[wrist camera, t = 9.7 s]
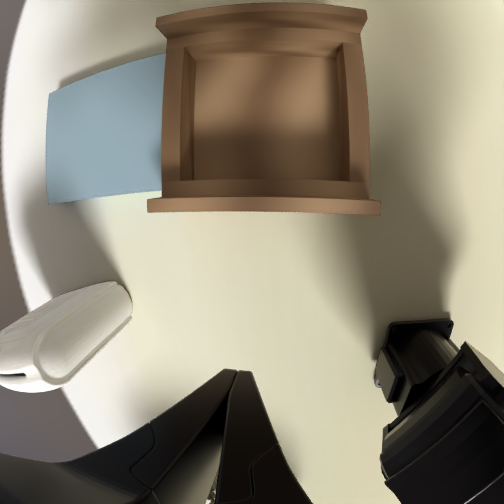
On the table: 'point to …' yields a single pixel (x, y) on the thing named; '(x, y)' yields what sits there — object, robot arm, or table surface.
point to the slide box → (265, 110)
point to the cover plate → (106, 133)
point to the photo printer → (61, 337)
